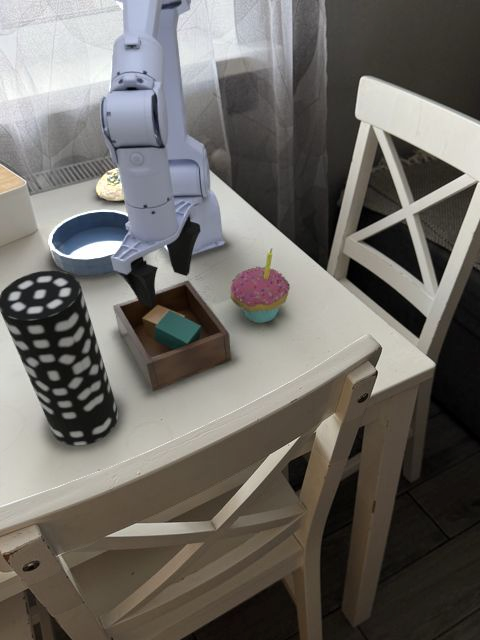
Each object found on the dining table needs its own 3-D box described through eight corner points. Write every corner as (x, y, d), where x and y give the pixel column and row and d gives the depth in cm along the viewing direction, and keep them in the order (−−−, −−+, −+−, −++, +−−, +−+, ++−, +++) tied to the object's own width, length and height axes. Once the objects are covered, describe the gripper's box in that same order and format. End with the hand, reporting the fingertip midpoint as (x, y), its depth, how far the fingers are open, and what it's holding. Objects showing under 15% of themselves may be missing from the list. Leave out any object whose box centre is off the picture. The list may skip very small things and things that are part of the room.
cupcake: (296, 301, 91) (296, 234, 83) (278, 337, 85) (277, 268, 77) (243, 291, 93) (238, 224, 85) (223, 325, 87) (216, 257, 79)
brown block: (160, 320, 88) (157, 304, 86) (187, 331, 86) (185, 315, 84) (145, 334, 86) (141, 318, 84) (172, 345, 84) (169, 329, 82)
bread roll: (125, 170, 124) (122, 148, 120) (165, 191, 120) (163, 169, 116) (85, 194, 118) (80, 172, 114) (125, 217, 114) (122, 195, 110)
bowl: (126, 218, 110) (122, 201, 108) (156, 259, 100) (153, 241, 98) (44, 242, 105) (38, 225, 103) (67, 287, 95) (61, 269, 93)
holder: (192, 306, 91) (188, 279, 88) (231, 360, 82) (229, 333, 79) (119, 331, 87) (112, 305, 84) (152, 391, 78) (146, 364, 75)
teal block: (168, 323, 82) (169, 309, 80) (199, 339, 82) (201, 325, 79) (154, 340, 80) (154, 326, 78) (186, 356, 80) (187, 343, 77)
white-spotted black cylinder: (57, 397, 78) (8, 273, 64) (121, 392, 78) (85, 267, 65) (45, 448, 72) (-12, 323, 58) (115, 442, 72) (74, 317, 59)
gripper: (158, 163, 76) (172, 252, 85) (81, 217, 67) (106, 310, 76) (204, 175, 73) (213, 265, 83) (130, 232, 64) (150, 327, 74)
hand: (165, 288), depth 79 cm, fingers open, 7 cm apart
